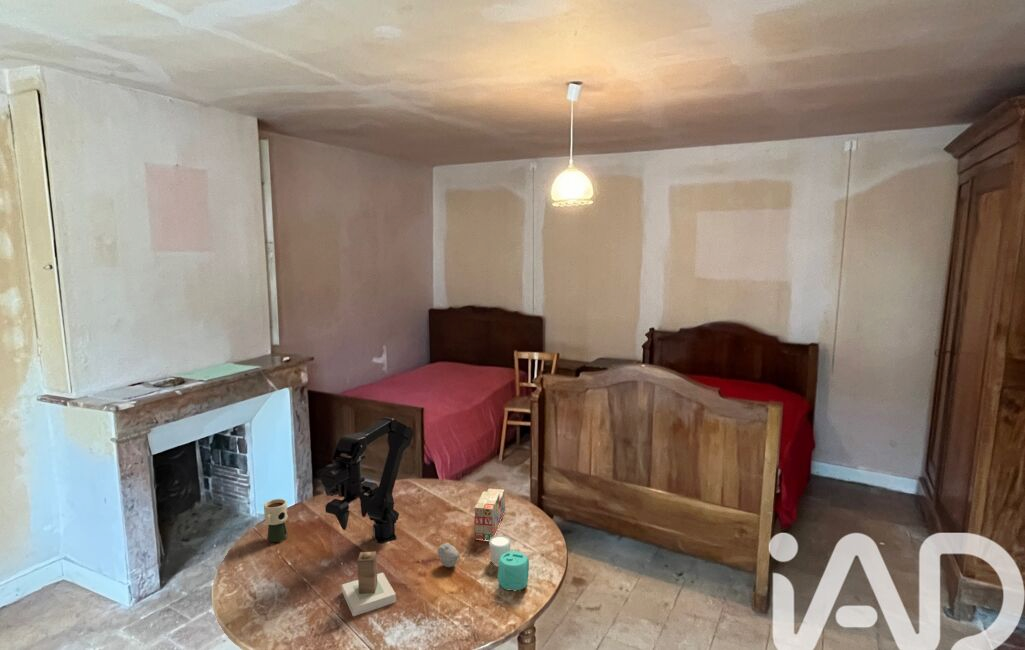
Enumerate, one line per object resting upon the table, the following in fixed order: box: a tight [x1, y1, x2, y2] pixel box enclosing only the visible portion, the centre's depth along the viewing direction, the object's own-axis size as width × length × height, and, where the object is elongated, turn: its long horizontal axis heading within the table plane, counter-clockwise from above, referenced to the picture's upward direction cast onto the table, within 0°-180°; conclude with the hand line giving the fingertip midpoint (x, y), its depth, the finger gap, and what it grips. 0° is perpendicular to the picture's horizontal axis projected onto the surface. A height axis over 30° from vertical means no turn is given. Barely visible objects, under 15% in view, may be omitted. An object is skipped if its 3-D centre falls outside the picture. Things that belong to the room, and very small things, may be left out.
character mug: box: [263, 498, 289, 543], centre depth 188 cm, size 11×7×13 cm, turn 175°
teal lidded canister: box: [497, 550, 530, 591], centre depth 164 cm, size 8×8×8 cm
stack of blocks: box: [474, 488, 506, 540], centre depth 197 cm, size 21×6×12 cm, turn 170°
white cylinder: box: [488, 535, 512, 565], centre depth 175 cm, size 7×7×7 cm
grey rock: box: [437, 542, 460, 568], centre depth 173 cm, size 6×7×7 cm
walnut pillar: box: [357, 550, 378, 594], centre depth 157 cm, size 4×4×10 cm
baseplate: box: [341, 572, 397, 617], centre depth 158 cm, size 12×12×3 cm
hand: (354, 522), depth 176 cm, fingers open, 9 cm apart
